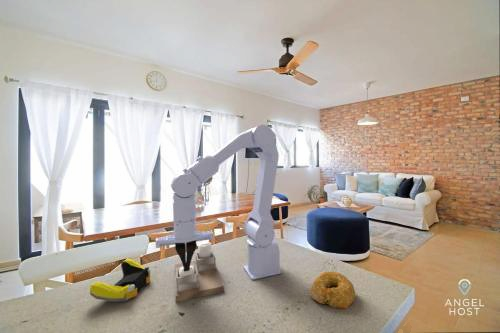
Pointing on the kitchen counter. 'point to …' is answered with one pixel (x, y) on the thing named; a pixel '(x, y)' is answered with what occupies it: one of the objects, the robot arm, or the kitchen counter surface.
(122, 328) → the kitchen counter surface
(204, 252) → the knob right
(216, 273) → the knob board
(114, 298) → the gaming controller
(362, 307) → the kitchen counter surface
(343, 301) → the bagel
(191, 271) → the knob left
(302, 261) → the kitchen counter surface
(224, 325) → the kitchen counter surface
